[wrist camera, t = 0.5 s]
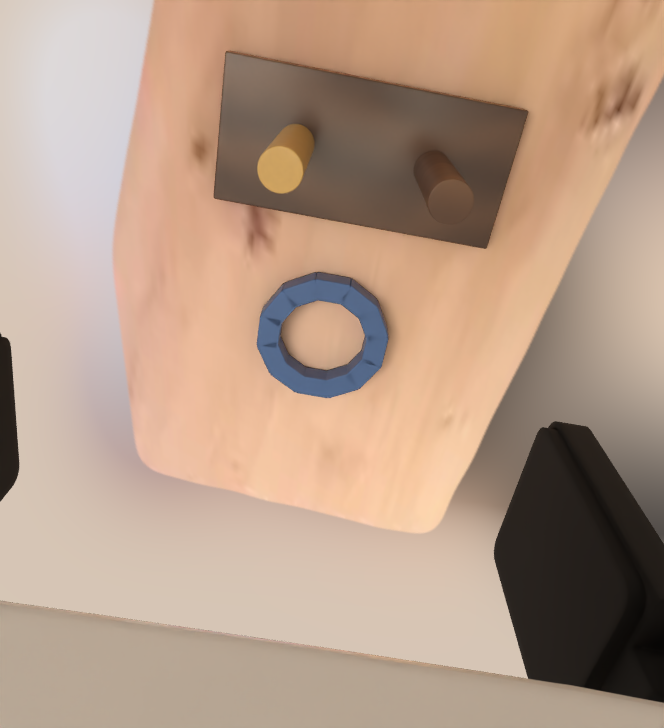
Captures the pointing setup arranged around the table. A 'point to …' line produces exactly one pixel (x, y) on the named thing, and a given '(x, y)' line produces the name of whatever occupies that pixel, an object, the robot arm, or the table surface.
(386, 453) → the table surface
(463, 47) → the table surface
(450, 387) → the table surface
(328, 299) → the ring
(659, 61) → the table surface
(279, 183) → the rack
